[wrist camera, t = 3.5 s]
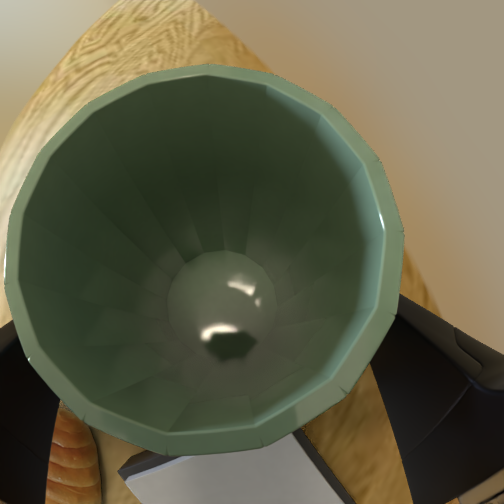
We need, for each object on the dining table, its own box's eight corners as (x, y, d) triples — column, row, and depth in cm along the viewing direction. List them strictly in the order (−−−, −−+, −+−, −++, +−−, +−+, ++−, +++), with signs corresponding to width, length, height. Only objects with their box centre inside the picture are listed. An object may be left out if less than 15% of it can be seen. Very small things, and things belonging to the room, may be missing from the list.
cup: (304, 324, 17) (465, 290, 4) (201, 385, 15) (113, 507, 3) (242, 227, 18) (258, 35, 6) (143, 282, 17) (-12, 173, 4)
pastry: (36, 384, 14) (2, 389, 11) (120, 431, 14) (95, 451, 11) (27, 480, 12) (1, 496, 8) (102, 525, 12) (83, 550, 8)
